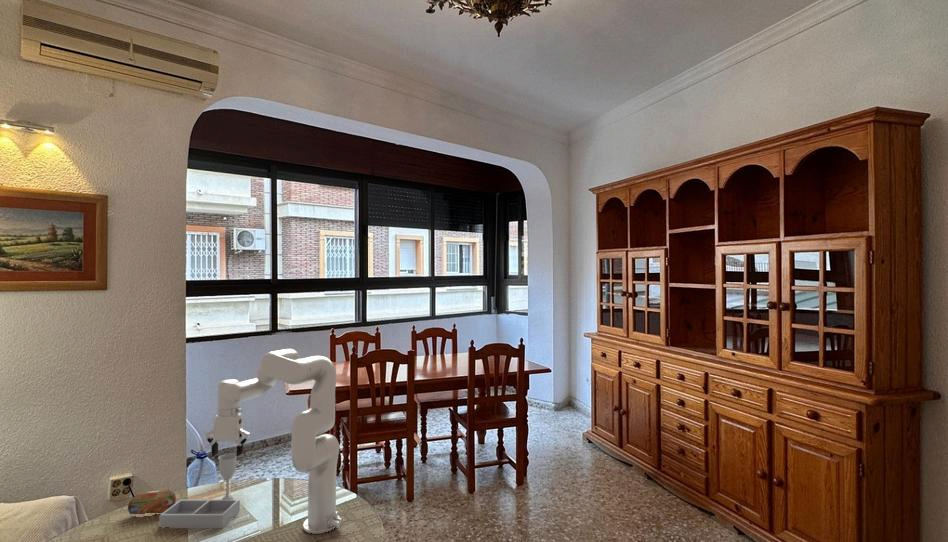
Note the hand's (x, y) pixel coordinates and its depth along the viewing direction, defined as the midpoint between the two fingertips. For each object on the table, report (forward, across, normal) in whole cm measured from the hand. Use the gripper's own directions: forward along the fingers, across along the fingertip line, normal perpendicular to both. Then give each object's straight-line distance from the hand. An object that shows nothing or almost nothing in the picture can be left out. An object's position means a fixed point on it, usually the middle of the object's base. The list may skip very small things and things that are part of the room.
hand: (227, 454), depth 181 cm
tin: (+19, +22, +10) cm, 31 cm away
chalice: (+19, -1, 0) cm, 19 cm away
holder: (+18, +2, +14) cm, 23 cm away
